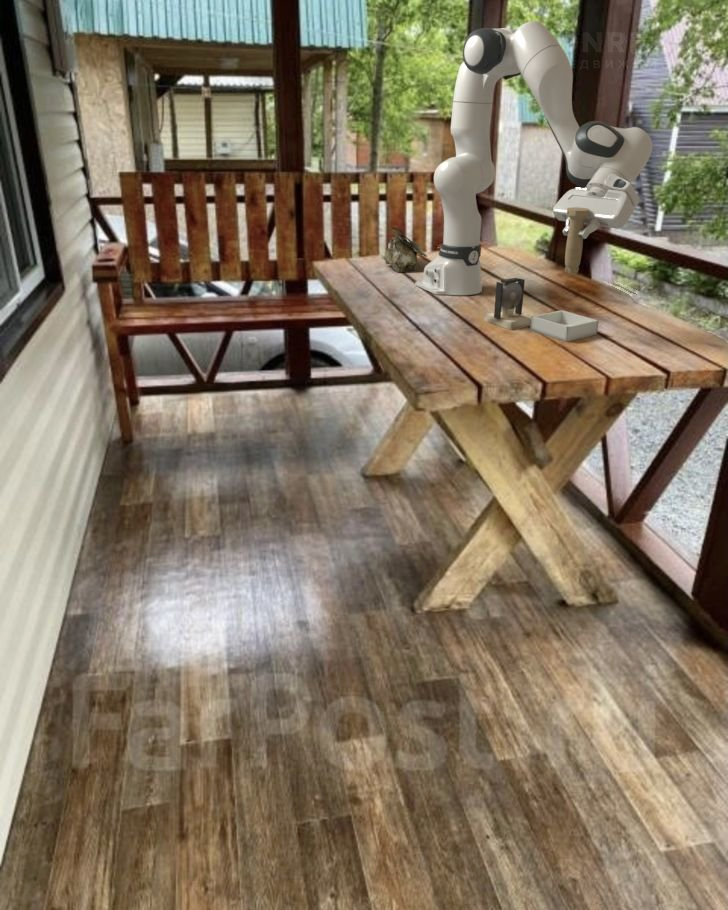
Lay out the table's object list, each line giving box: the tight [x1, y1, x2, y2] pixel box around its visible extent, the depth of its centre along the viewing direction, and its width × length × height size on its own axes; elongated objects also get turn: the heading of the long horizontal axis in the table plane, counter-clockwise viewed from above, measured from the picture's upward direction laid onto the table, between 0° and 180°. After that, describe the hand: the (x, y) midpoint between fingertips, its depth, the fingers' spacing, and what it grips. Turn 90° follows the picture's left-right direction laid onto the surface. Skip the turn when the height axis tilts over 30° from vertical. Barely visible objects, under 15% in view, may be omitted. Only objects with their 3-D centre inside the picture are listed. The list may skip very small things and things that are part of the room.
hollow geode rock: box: [383, 226, 428, 273], centre depth 262 cm, size 28×13×15 cm
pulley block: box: [484, 277, 531, 331], centre depth 192 cm, size 10×8×12 cm
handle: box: [564, 207, 590, 275], centre depth 178 cm, size 5×6×15 cm
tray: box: [529, 309, 599, 342], centre depth 186 cm, size 12×11×4 cm
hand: (573, 235), depth 177 cm, fingers closed on handle, 3 cm apart
